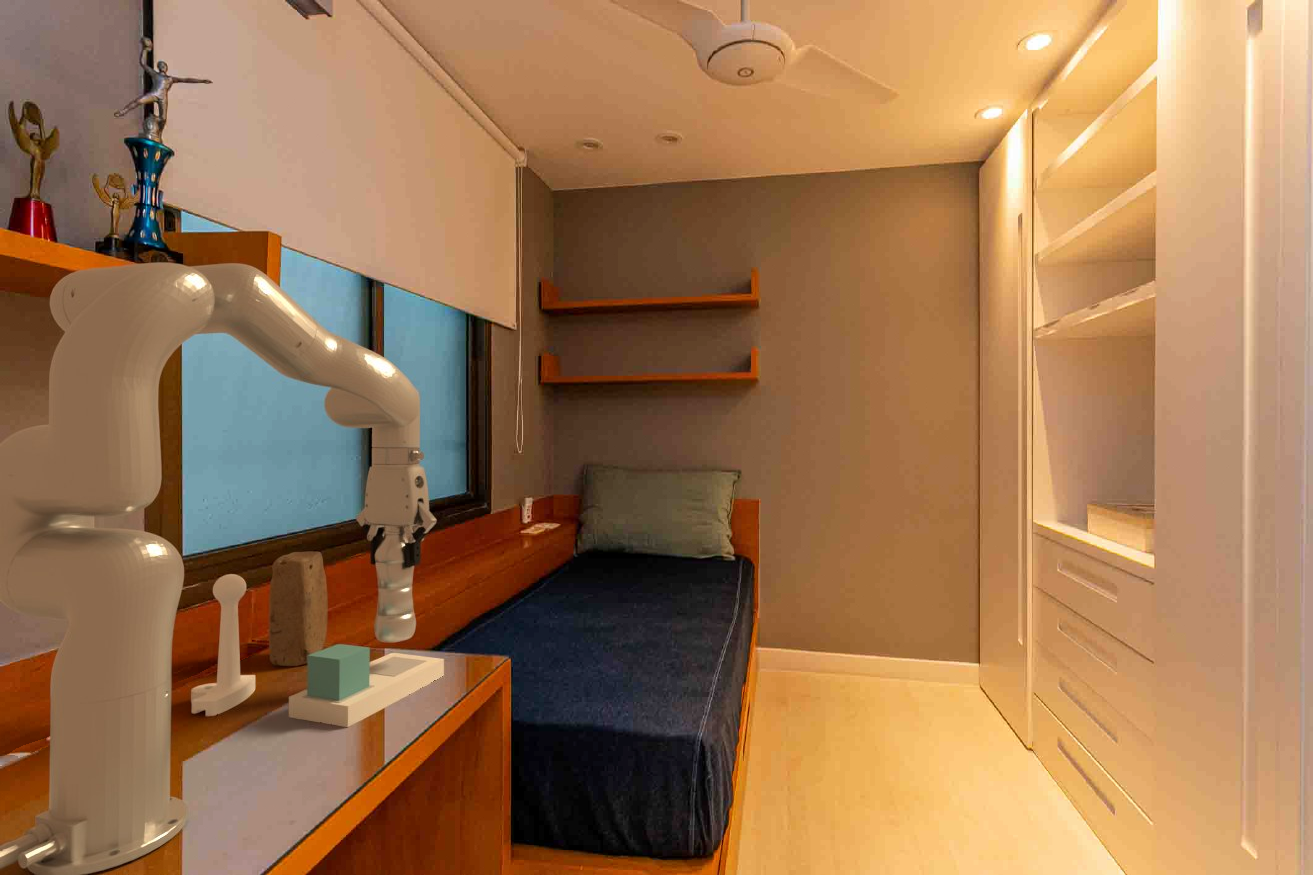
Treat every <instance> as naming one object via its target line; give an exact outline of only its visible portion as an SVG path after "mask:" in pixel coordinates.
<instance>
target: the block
mask: <svg viewBox="0 0 1313 875" xmlns="http://www.w3.org/2000/svg"><path fill="white" fill-rule="evenodd" d="M271 568H272V577H271V580H270V585H269V591H270V592H269V602H268V611H269V612H268V646H269V647H268V650H269V661H270V663H271V664H273V665H275V666H280V667H297V666H302V665H307V664H308V655H310V654H313V653H315V652H318V651H321V650H324V645H325V643H326V639H327V634H328V633H327V631H328V587H327V576H326V572H325V569H324V559H323V554H322V553H321V552H320V551H316V550H315V551H294V552H290V553H289V554H284V555H281V556H280V557H277V559H275V561H274V562H273V563H272V565H271Z"/></svg>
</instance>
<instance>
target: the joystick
mask: <svg viewBox="0 0 1313 875" xmlns="http://www.w3.org/2000/svg"><path fill="white" fill-rule="evenodd" d="M246 591H247V583H246V580H245V579H244V578H243V577H242V576H241V575H238V574H234V573H229V574H224V575H223V576H220V577H218V578H217V579H216V581H215V582H214V584H213V587H212V593H213V594H212V595H213V596H214V598H215V599H216V600H217V602H219V604H220V607H221V608H220V609H221V610H220V623H219V624H220V625H219V638H218V639H219V640H218V641H219V642H218V655H217V656H218V657H217V674H216V682H213V683H212V682H211V683H204V684H201V685H197V686H195V687H192V688H191V689H190V690H191V691H190V693H191V694H190V703H191V714H198V713H200V712H203V711H205V717H215V716H216V715H217V714H218V715H220V714H222V713H225V712H226V711H229V710H230V709H232V708H235V707H236V706H238V705H239V704H241V703H242V702H245V701H246V700H247V699H248V698H249V697H251V695H252V694H253V693H254V692H255V690H256V674H241V660H240V658H241V657H240V630H239V608H238V607H239V602H240V600H241V599H242V598H243V597H244V596H245V594H246Z"/></svg>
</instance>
